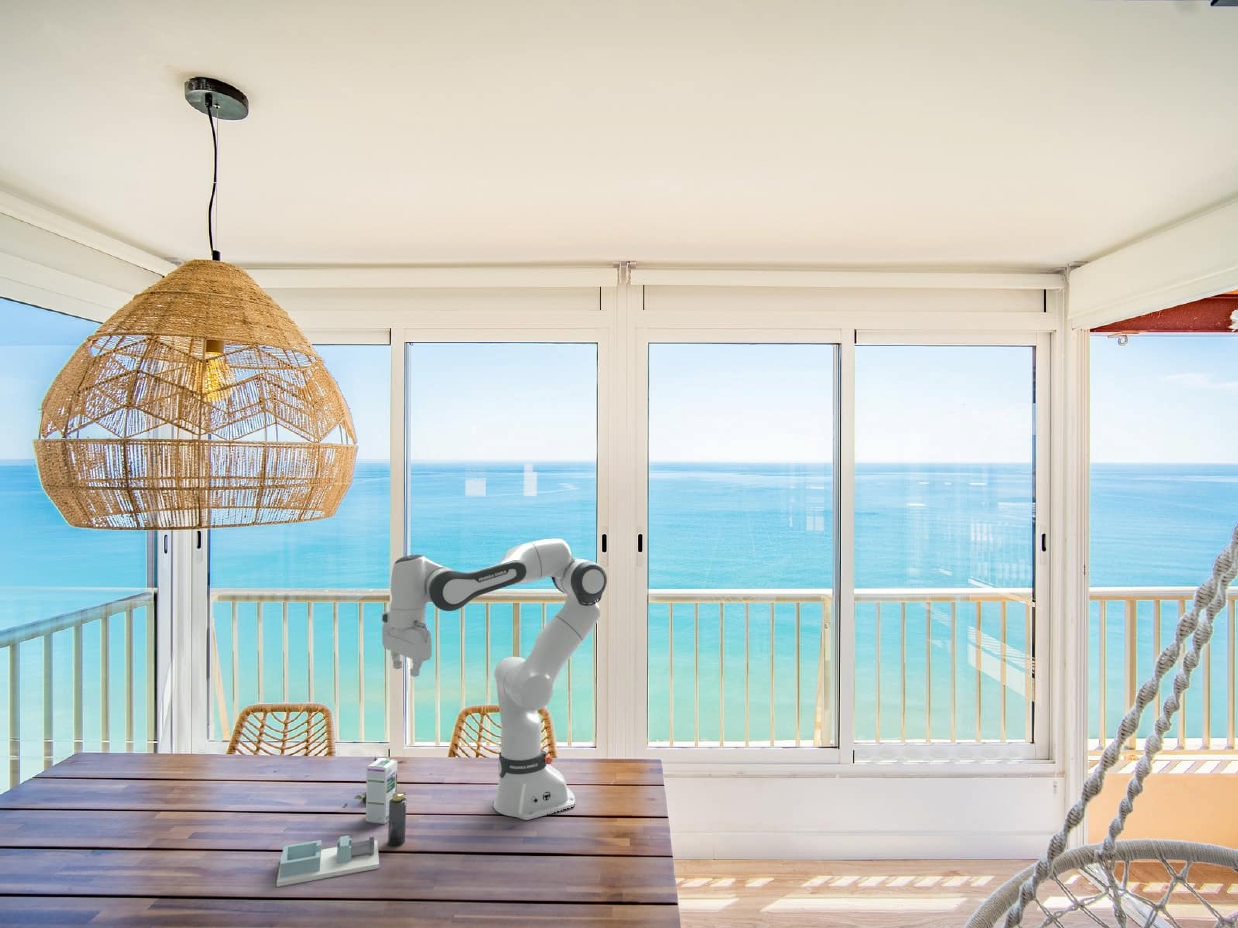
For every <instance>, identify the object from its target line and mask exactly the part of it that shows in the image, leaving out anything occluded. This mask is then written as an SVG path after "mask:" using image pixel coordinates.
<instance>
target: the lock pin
mask: <svg viewBox="0 0 1238 928" xmlns="http://www.w3.org/2000/svg"><path fill="white" fill-rule="evenodd" d="M374 841H375V836H371V837H369V838H368V839H367V840H362V841H356V842H355V841H354V842H351V843H349V846H351V857H352V856H357V855H363V854H369V855H373V854H374ZM336 845H337V844H336ZM336 847H337V848H340V845H337V846H336Z"/></svg>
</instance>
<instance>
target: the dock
mask: <svg viewBox="0 0 1238 928" xmlns="http://www.w3.org/2000/svg"><path fill="white" fill-rule="evenodd" d="M336 842H337V844H336V845H340V848H337V846H334V847H330V848H329V847H328V848H323V849H322V839H317V840H313V841H306V842H299V843H293V844H287V845H283V847H282V848H283V849H282V854H281V857H280V863H279V868H278V874H277V879H276V888H278V887H283V886H289V885H295V884H300V883H307V882H311V881H316V880H323V879H327V878H332V877H338V876H345V875H350V874H355V873H360V872H365V871H373V870H377V869H380V860H379V859H380V857H379V846H378V839H377V840H374V854H373V855H369V854H363V855H357V856H352V857H351V846H349V843H352V837H350V835H344V836H340V837H339V839H338V840H337V841H336Z"/></svg>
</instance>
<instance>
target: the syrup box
mask: <svg viewBox="0 0 1238 928" xmlns="http://www.w3.org/2000/svg"><path fill="white" fill-rule="evenodd" d="M396 792H398V759H394V758H387V757H386V758H385V757H381V758H380V757H378V758H377V760H376V761H375V762H374V761H373V762H372V763H371V764H370V763H369V765H367V766H366V792H365V793H366V805H365V806H366V807H365V808H366V809H365V812H366V813H365V821H366V822H367V823H373V824H383V825H386V824H387V823H388V822H389V801H390V800H391V799H392V795H393V793H396Z"/></svg>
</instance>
